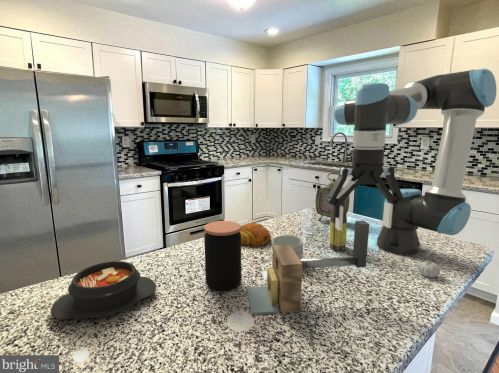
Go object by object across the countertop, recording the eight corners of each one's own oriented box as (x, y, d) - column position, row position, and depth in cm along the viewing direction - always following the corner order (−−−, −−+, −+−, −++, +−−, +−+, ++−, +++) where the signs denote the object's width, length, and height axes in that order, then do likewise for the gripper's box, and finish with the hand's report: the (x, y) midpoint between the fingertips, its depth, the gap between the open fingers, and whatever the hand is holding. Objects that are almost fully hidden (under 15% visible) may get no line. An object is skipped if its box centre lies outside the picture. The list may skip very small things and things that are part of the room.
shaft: (360, 262, 81) (363, 220, 79) (365, 267, 78) (369, 224, 76) (290, 266, 79) (291, 223, 76) (292, 271, 76) (294, 226, 74)
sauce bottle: (348, 247, 113) (352, 198, 109) (340, 252, 109) (343, 201, 105) (333, 243, 118) (336, 195, 114) (325, 247, 113) (328, 198, 110)
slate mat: (270, 287, 84) (270, 285, 84) (279, 313, 73) (279, 310, 73) (246, 289, 84) (246, 287, 83) (251, 315, 72) (251, 312, 72)
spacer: (272, 290, 82) (272, 267, 80) (277, 305, 75) (278, 280, 74) (266, 290, 82) (267, 267, 80) (271, 305, 75) (272, 280, 73)
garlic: (419, 278, 90) (421, 262, 89) (416, 270, 95) (418, 255, 94) (441, 281, 88) (444, 265, 87) (437, 273, 93) (439, 258, 92)
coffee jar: (246, 278, 90) (246, 222, 87) (233, 296, 80) (232, 234, 77) (215, 272, 93) (213, 219, 90) (199, 289, 83) (196, 230, 80)
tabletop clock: (314, 220, 147) (316, 172, 142) (322, 217, 154) (325, 170, 149) (342, 227, 138) (345, 175, 133) (349, 222, 145) (352, 173, 140)
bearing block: (288, 286, 85) (290, 244, 82) (300, 311, 73) (302, 263, 71) (272, 287, 84) (272, 245, 82) (281, 312, 73) (282, 264, 70)
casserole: (48, 340, 63) (43, 305, 62) (54, 298, 79) (50, 269, 77) (163, 306, 76) (162, 276, 74) (149, 275, 91) (147, 250, 90)
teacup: (302, 270, 95) (303, 247, 94) (269, 266, 97) (269, 244, 96) (303, 252, 109) (303, 232, 107) (274, 250, 111) (274, 230, 109)
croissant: (229, 245, 122) (226, 227, 120) (255, 231, 131) (253, 215, 129) (251, 255, 111) (249, 236, 109) (279, 239, 121) (277, 222, 119)
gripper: (326, 150, 68) (323, 235, 73) (424, 148, 71) (415, 230, 75) (315, 148, 76) (313, 225, 80) (404, 146, 78) (397, 221, 83)
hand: (362, 227), depth 78 cm, fingers open, 13 cm apart
